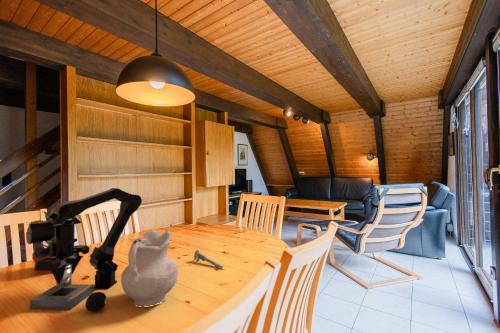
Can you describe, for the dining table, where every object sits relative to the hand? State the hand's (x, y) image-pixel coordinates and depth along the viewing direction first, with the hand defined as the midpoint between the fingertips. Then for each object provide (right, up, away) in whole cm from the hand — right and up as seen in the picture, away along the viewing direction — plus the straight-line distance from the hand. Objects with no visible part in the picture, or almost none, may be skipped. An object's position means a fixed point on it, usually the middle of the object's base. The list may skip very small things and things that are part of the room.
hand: (64, 280), depth 90 cm
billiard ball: (+16, -7, -7) cm, 19 cm away
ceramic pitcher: (+31, -8, 0) cm, 32 cm away
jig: (0, -7, 0) cm, 7 cm away
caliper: (+47, -9, +35) cm, 59 cm away
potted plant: (-25, -8, +27) cm, 38 cm away
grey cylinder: (0, -2, 0) cm, 2 cm away
